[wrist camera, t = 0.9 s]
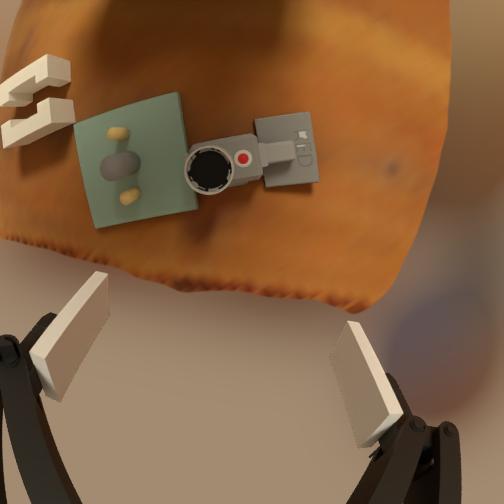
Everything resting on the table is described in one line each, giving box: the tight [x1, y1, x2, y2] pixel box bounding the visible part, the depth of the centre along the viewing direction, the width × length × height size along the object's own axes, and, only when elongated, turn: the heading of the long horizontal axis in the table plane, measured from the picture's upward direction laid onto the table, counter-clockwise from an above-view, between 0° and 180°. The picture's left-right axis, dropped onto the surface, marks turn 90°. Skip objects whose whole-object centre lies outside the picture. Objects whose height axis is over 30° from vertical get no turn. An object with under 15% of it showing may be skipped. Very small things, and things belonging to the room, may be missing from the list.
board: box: [73, 92, 199, 229], centre depth 31 cm, size 15×15×7 cm
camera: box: [183, 112, 320, 195], centre depth 29 cm, size 9×12×15 cm
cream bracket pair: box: [0, 54, 76, 148], centre depth 27 cm, size 10×10×6 cm
